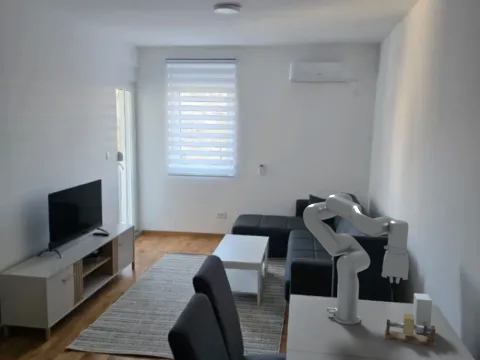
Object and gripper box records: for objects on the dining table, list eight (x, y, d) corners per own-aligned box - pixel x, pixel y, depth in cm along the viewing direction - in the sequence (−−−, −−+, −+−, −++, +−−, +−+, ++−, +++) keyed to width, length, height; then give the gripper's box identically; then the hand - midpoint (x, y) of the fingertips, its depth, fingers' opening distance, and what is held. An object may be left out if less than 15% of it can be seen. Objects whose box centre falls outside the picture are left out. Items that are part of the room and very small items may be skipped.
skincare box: (430, 334, 197) (433, 301, 194) (414, 333, 198) (417, 299, 196) (426, 326, 205) (429, 293, 203) (411, 324, 206) (413, 292, 204)
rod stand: (385, 339, 191) (386, 321, 190) (384, 333, 197) (386, 315, 196) (435, 347, 186) (437, 328, 185) (433, 340, 192) (435, 322, 190)
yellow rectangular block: (403, 333, 189) (404, 318, 188) (402, 328, 194) (403, 313, 193) (413, 335, 188) (414, 319, 187) (412, 330, 193) (413, 314, 192)
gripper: (378, 250, 187) (375, 292, 189) (416, 254, 183) (412, 296, 185) (378, 245, 194) (375, 285, 196) (414, 249, 190) (411, 290, 192)
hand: (393, 291), depth 191 cm, fingers closed
